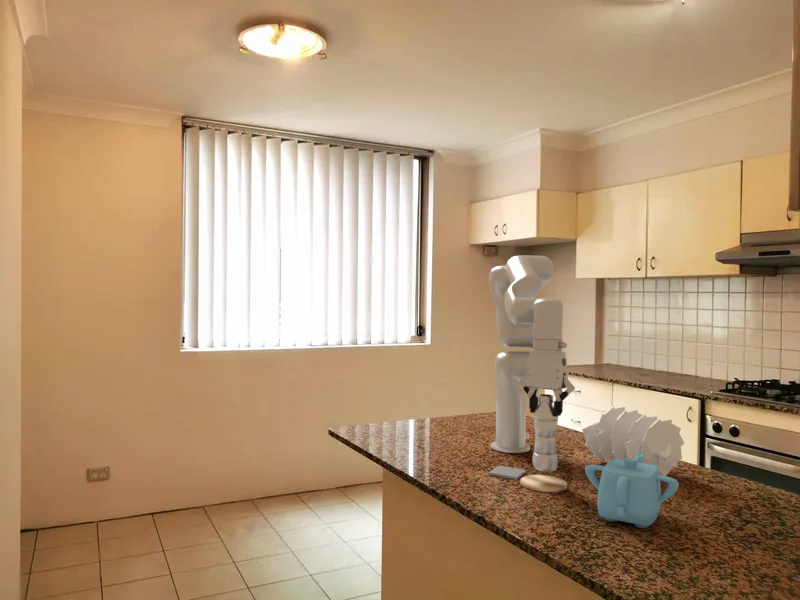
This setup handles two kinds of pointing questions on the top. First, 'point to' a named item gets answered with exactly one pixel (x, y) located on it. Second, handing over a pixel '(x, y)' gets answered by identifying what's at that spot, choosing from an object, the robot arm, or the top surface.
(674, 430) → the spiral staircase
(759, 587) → the top surface
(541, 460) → the silver metal bottle
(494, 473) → the slate coaster
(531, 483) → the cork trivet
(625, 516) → the teapot
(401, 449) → the top surface
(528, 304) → the robot arm
